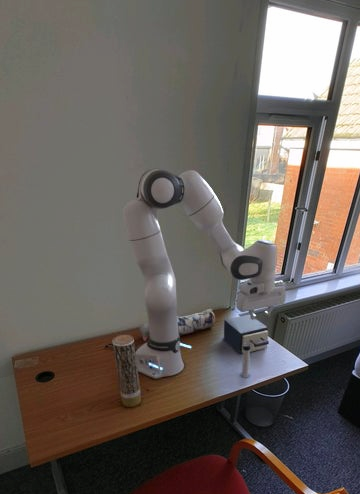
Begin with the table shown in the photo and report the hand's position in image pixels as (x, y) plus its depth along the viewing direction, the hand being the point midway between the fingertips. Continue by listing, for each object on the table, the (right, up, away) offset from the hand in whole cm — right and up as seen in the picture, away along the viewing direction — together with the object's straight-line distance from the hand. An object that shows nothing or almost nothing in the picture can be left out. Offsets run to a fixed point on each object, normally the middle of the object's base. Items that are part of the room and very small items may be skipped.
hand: (260, 317), depth 142 cm
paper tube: (-49, -32, -16) cm, 60 cm away
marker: (-7, -23, -4) cm, 24 cm away
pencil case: (-26, -4, +30) cm, 40 cm away
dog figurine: (-44, -7, +26) cm, 52 cm away
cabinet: (-3, -10, +18) cm, 20 cm away
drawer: (-2, -11, +13) cm, 17 cm away
